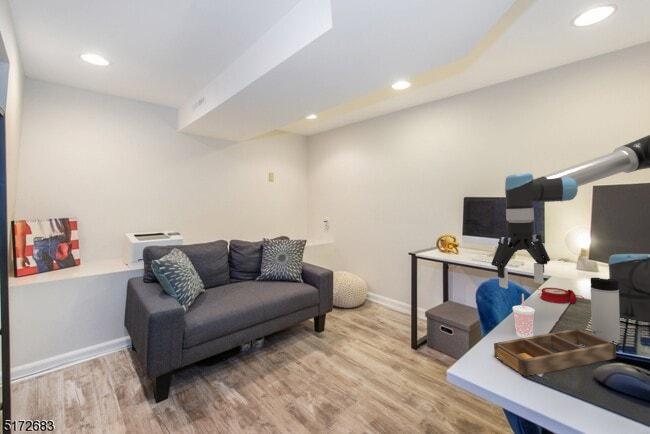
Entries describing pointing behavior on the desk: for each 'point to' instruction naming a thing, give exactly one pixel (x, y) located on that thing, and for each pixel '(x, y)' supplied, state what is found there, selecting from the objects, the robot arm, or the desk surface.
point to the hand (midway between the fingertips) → (521, 285)
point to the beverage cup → (524, 320)
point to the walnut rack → (536, 359)
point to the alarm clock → (558, 295)
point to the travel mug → (605, 309)
